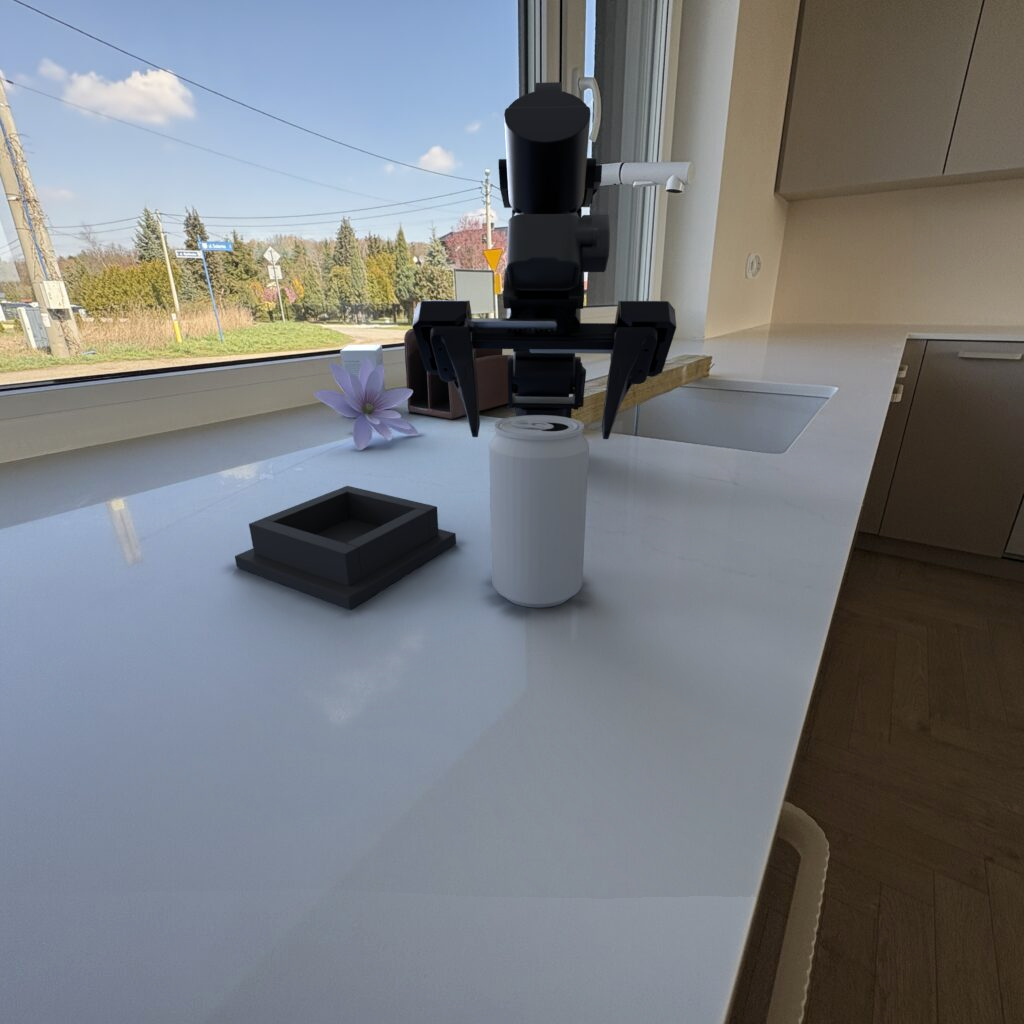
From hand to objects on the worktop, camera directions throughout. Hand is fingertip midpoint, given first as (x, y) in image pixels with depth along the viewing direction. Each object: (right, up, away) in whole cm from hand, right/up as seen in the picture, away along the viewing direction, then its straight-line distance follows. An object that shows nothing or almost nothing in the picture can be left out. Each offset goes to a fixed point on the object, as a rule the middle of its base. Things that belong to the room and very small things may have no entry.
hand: (539, 435), depth 39 cm
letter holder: (-10, +13, +60) cm, 62 cm away
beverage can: (0, -11, +1) cm, 11 cm away
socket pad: (-15, -9, +6) cm, 18 cm away
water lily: (-21, +4, +39) cm, 44 cm away
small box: (-26, +11, +56) cm, 63 cm away
